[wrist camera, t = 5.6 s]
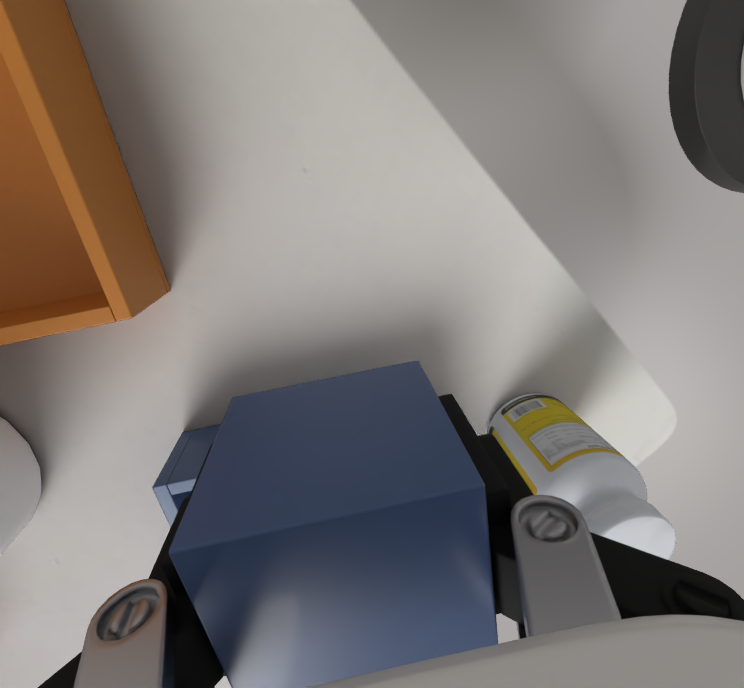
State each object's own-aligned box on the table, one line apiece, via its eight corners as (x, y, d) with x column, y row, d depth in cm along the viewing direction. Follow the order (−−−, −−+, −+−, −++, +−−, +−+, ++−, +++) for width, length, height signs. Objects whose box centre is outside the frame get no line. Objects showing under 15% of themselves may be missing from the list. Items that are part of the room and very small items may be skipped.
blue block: (418, 359, 11) (486, 483, 7) (438, 504, 13) (502, 682, 8) (231, 396, 11) (165, 553, 6) (278, 538, 13) (254, 740, 8)
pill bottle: (514, 478, 33) (608, 619, 22) (466, 428, 31) (544, 558, 20) (582, 427, 32) (714, 549, 21) (537, 371, 30) (660, 477, 19)
